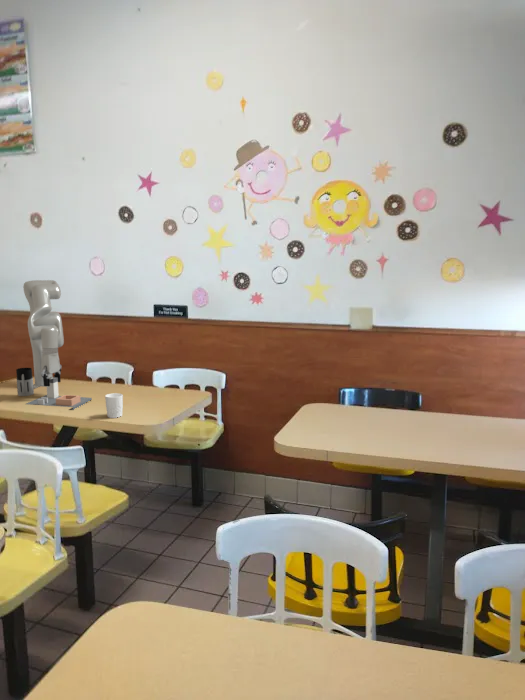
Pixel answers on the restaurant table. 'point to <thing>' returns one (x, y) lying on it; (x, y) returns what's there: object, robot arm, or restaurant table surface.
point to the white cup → (114, 405)
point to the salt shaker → (52, 388)
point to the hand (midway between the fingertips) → (52, 384)
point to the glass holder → (24, 382)
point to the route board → (61, 401)
